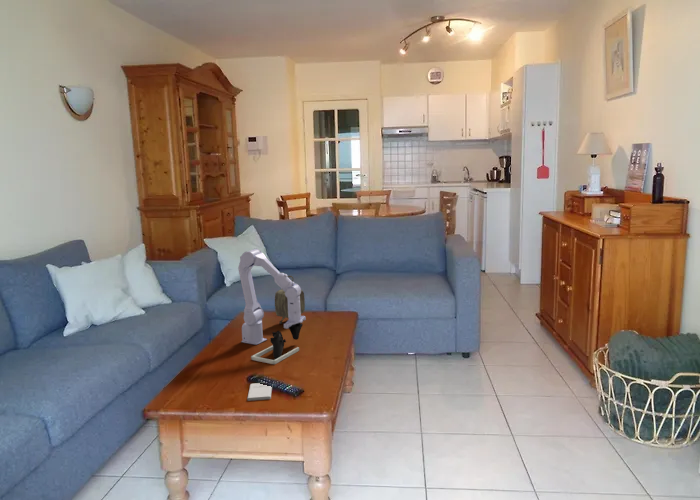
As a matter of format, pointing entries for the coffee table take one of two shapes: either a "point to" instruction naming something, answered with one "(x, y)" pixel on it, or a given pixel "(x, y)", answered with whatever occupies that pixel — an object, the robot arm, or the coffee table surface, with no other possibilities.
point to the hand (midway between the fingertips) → (295, 339)
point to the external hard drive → (259, 392)
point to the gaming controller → (277, 344)
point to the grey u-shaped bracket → (258, 358)
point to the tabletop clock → (286, 303)
